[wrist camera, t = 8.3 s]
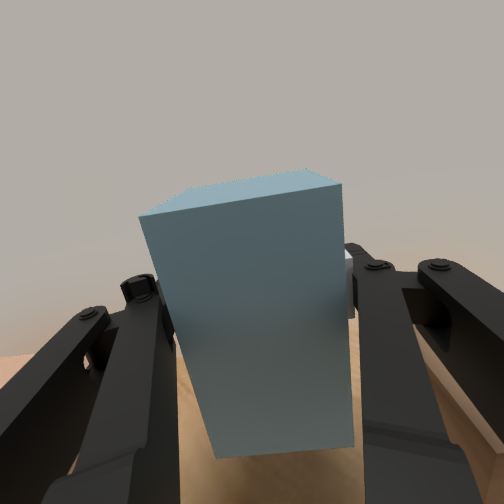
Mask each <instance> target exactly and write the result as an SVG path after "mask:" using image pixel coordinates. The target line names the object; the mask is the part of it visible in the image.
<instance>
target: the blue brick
mask: <svg viewBox="0 0 504 504" xmlns="http://www.w3.org/2000/svg"><path fill="white" fill-rule="evenodd" d="M139 220H140V223H141V227H142V230H143V233H144V236H145V239H146V242H147V245H148V248H149V252H150V255H151V258H152V261H153V264H154V267H155V270H156V273H157V276H158V280H159V283H160V286H161V289H162V292H163V295H164V298H165V302H166V305H167V308H168V311H169V314H170V317H171V320H172V323H173V327H174V330H175V333H176V336H177V339H178V342H179V345H180V348H181V352H182V355H183V358H184V361H185V364H186V367H187V370H188V373H189V377H190V380H191V383H192V386H193V389H194V392H195V395H196V398H197V402H198V405H199V408H200V411H201V414H202V417H203V420H204V423H205V427H206V430H207V433H208V436H209V439H210V442H211V445H212V448H213V452H214V455H215V458H216V459H217V458H229V457H241V456H252V455H264V454H276V453H287V452H299V451H311V450H322V449H334V448H346V447H354V432H353V411H352V390H351V369H350V348H349V327H348V307H347V286H346V265H345V244H344V225H343V224H344V223H343V202H342V184H341V183H339V182H336V181H334V180H332V179H329V178H327V177H324V176H322V175H320V174H317V173H315V172H313V171H310V170H308V169H303V170H297V171H291V172H285V173H279V174H274V175H267V176H262V177H256V178H250V179H244V180H238V181H232V182H226V183H221V184H215V185H208V186H202V187H197V188H191V189H187V190H185V191H183V192H182V193H180V194H178V195H176V196H175V197H173V198H171V199H169V200H167V201H166V202H164V203H162V204H160V205H158V206H157V207H155V208H153V209H151V210H150V211H148V212H146V213H144V214H142V215H141V216H139Z"/></svg>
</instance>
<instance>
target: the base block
mask: <svg viewBox="0 0 504 504" xmlns="http://www.w3.org/2000/svg"><path fill="white" fill-rule="evenodd" d="M413 327H414V330H415V333H416V336H417V340H418V343H419V346H420V349H421V352H422V355H423V359H424V362H425V365H426V368H427V371H428V374H429V377H430V381H431V384H432V387H433V390H434V393H435V396H436V399H437V403H438V406H439V409H440V412H441V415H442V418H443V421H444V425H445V428H446V431H447V434H448V437H449V439H450V441H451V443H453V444H458V445H460V447H461V448H462V449H463V451H464V453H465V455H466V457H467V460H468V462H469V464H470V467H471V470H472V473H473V475H474V478H475V481H476V484H477V487H478V489H479V492H480V495H481V498H482V501H483V503H484V504H504V444H503V443H502V442H501V440H500V439H499V438H498V436H497V435H496V434H495V432H494V431H493V430H492V428H491V427H490V426H489V424H488V423H487V422H486V420H485V419H484V418H483V417H482V415H481V414H480V413H479V411H478V410H477V409H476V407H475V406H474V405H473V403H472V402H471V401H470V399H469V398H468V397H467V395H466V394H465V393H464V391H463V390H462V389H461V387H460V386H459V385H458V383H457V382H456V381H455V379H454V378H453V377H452V375H451V374H450V373H449V372H448V370H447V369H446V368H445V366H444V365H443V364H442V362H441V361H440V360H439V358H438V357H437V356H436V354H435V353H434V352H433V350H432V349H431V348H430V346H429V345H428V344H427V342H426V341H425V340H424V338H423V337H422V336H421V334H420V333H419V332H418V330H417V329H416V327H415V324H413Z"/></svg>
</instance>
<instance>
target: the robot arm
mask: <svg viewBox="0 0 504 504" xmlns="http://www.w3.org/2000/svg"><path fill="white" fill-rule="evenodd" d="M345 265H346V286H347V307H348V319H352V318H355V308H356V309H357V311H358V316H359V345H360V372H361V400H362V427H363V454H364V482H365V504H484V503H483V501H482V498H481V495H480V492H479V489H478V487H477V484H476V481H475V478H474V475H473V473H472V470H471V467H470V464H469V462H468V460H467V457H466V455H465V453H464V451H463V449H462V448H461V447H460V445H458V444H453V443H451V441H450V439H449V437H448V434H447V431H446V428H445V425H444V421H443V418H442V415H441V412H440V409H439V406H438V403H437V399H436V396H435V393H434V390H433V387H432V384H431V381H430V377H429V374H428V371H427V368H426V365H425V362H424V359H423V355H422V352H421V349H420V346H419V343H418V340H417V336H416V333H415V330H414V327H413V324H415V327H416V329H417V330H418V332H419V333H420V334H421V336H422V337H423V338H424V340H425V341H426V342H427V344H428V345H429V346H430V348H431V349H432V350H433V352H434V353H435V354H436V356H437V357H438V358H439V360H440V361H441V362H442V364H443V365H444V366H445V368H446V369H447V370H448V372H449V373H450V374H451V375H452V377H453V378H454V379H455V381H456V382H457V383H458V385H459V386H460V387H461V389H462V390H463V391H464V393H465V394H466V395H467V397H468V398H469V399H470V401H471V402H472V403H473V405H474V406H475V407H476V409H477V410H478V411H479V413H480V414H481V415H482V417H483V418H484V419H485V420H486V422H487V423H488V424H489V426H490V427H491V428H492V430H493V431H494V432H495V434H496V435H497V436H498V438H499V439H500V440H501V442H502V443H503V444H504V293H503V292H501V291H500V290H498V289H496V288H495V287H493V286H492V285H491V284H489V283H488V282H486V281H484V280H483V279H481V278H480V277H478V276H477V275H475V274H474V273H472V272H471V271H469V270H468V269H466V268H465V267H463V266H462V265H460V264H458V263H456V262H453V261H449V260H447V259H439V258H436V259H429V260H424V261H422V262H420V263H419V264H418V272H401V271H396V270H395V268H394V266H393V264H392V263H390V262H387V261H383V260H375V259H374V258H372V257H371V256H370V255H369V254H368V253H367V252H366V251H365V250H364V249H363V248H362V247H361V246H360V245H357V244H354V243H347V244H345ZM120 287H121V289H122V292H123V295H124V297H125V300H126V302H127V304H126V307H125V310H123V311H119V312H116V313H113V314H109V313H108V311H107V309H106V307H105V306H95V307H89V308H88V309H87V308H86V309H84V310H82V312H80V313H78V314H76V315H75V316H74V317H73V318H72V319H71V320H70V321H69V322H68V323H67V324H66V325H65V326H64V327H63V328H62V329H61V330H60V331H59V332H58V333H56V334H55V335H54V336H53V337H52V338H51V339H50V340H49V341H48V342H47V343H46V344H45V345H44V346H43V347H42V348H41V349H40V350H39V351H38V352H37V353H36V354H35V355H34V356H33V357H32V358H31V359H30V360H29V361H28V362H27V363H26V364H25V365H24V366H23V367H22V368H21V369H20V370H19V371H18V372H17V373H16V374H15V375H14V376H13V377H12V378H11V379H10V380H9V381H8V382H7V383H6V384H5V385H4V386H3V387H2V388H1V389H0V504H180V474H179V439H178V404H177V369H176V344H175V341H174V338H173V334H174V332H175V330H174V327H173V323H172V320H171V317H170V314H169V311H168V308H167V305H166V302H165V298H164V295H163V292H162V289H161V286H160V283H159V280H157V281H156V282H155V279H154V277H153V275H152V274H142V275H137V276H134V277H131V278H129V279H127V280H126V281H124V282H123V283H122V284H121V285H120ZM85 355H86V358H87V360H88V362H89V365H88V367H87V368H86V369H85V367H84V363H83V362H84V356H85ZM78 454H79V455H78ZM77 456H78V458H77ZM76 458H77V461H76V464H75V467H74V470H73V472H72V473H71V474H68V473H69V471H70V469H71V467H72V465H73V463H74V461H75V459H76ZM67 474H68V475H67Z"/></svg>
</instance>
